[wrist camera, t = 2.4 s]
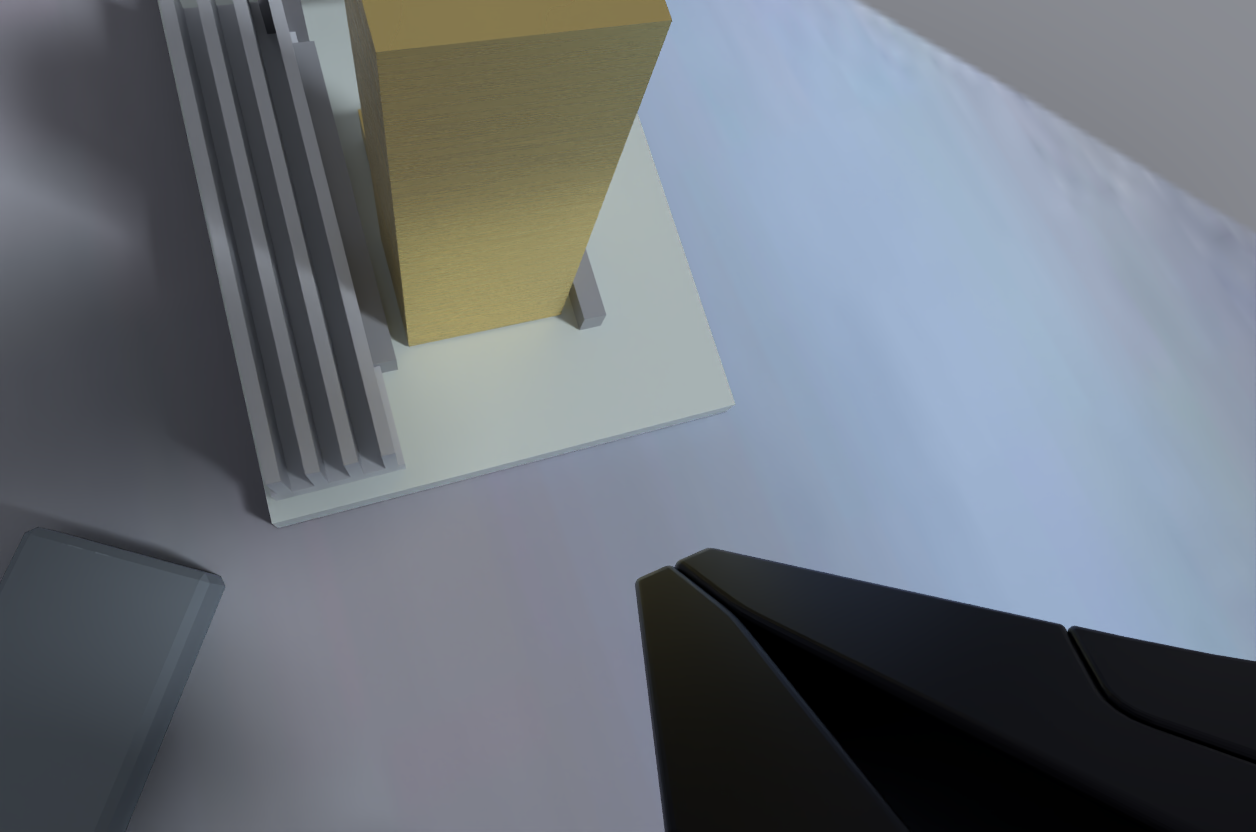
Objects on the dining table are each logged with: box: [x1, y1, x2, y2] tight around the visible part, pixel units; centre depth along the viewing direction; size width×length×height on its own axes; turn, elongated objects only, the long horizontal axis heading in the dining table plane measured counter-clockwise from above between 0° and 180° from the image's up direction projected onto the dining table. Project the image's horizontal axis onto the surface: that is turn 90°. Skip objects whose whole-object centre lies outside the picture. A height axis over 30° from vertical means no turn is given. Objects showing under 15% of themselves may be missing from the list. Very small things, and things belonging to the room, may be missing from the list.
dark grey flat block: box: [0, 527, 225, 832], centre depth 17 cm, size 4×10×2 cm, turn 165°
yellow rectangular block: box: [344, 0, 672, 347], centre depth 16 cm, size 6×4×11 cm, turn 17°
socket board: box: [157, 0, 735, 528], centre depth 21 cm, size 16×12×4 cm
